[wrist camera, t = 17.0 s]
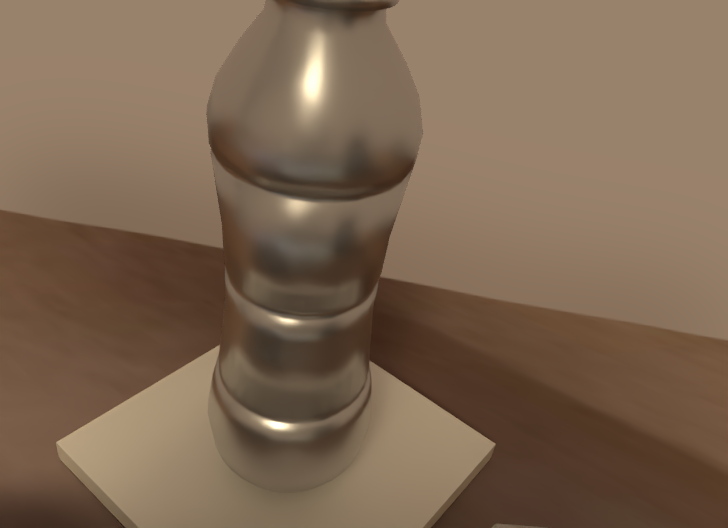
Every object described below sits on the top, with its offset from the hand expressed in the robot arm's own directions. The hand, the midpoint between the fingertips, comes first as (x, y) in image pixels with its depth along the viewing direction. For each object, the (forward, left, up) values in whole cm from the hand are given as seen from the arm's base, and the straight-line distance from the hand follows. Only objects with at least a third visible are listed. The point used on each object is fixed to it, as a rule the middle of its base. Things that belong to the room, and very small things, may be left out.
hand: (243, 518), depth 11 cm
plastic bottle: (-7, +9, -13) cm, 18 cm away
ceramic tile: (-7, +9, -14) cm, 18 cm away
